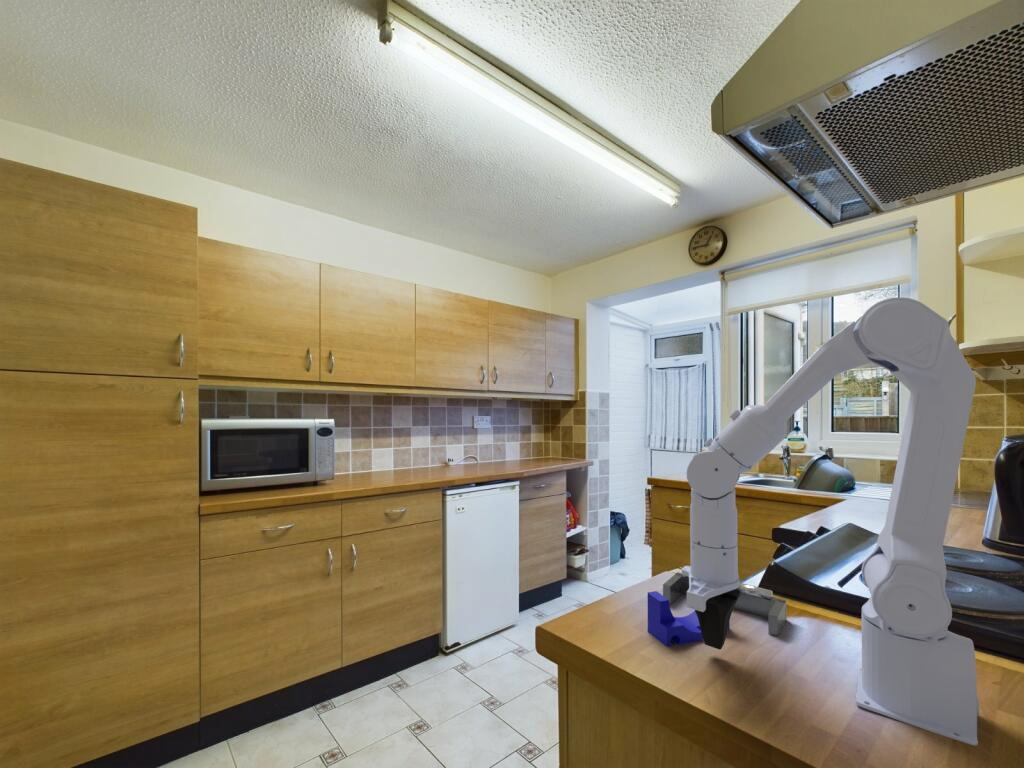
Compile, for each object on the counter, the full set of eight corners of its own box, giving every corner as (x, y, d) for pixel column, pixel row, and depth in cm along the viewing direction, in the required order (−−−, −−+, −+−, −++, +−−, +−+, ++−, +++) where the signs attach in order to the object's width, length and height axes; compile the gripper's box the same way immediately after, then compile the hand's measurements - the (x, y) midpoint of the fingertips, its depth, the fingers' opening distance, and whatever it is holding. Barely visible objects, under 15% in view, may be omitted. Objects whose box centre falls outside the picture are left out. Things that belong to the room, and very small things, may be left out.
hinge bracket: (786, 619, 71) (786, 592, 71) (777, 637, 66) (777, 608, 66) (677, 588, 82) (677, 565, 82) (663, 602, 77) (662, 577, 77)
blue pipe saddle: (666, 650, 63) (666, 606, 63) (647, 633, 68) (647, 592, 68) (737, 635, 67) (737, 594, 67) (714, 620, 71) (714, 581, 71)
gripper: (700, 523, 69) (700, 614, 69) (662, 549, 58) (662, 658, 58) (752, 532, 64) (752, 630, 64) (721, 563, 53) (722, 681, 53)
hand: (713, 644), depth 61 cm, fingers closed
